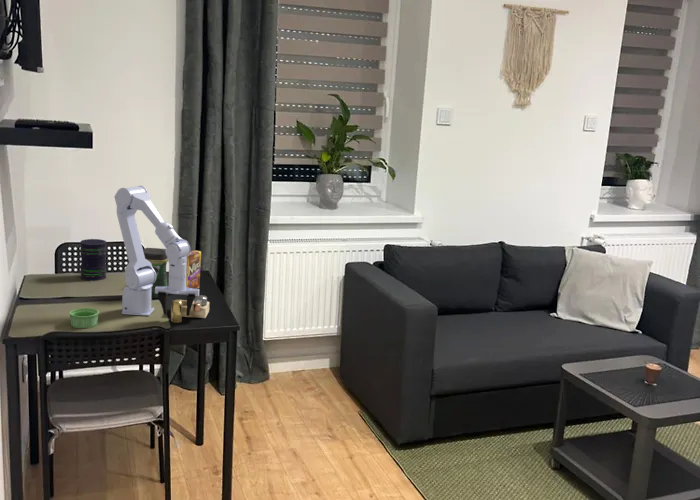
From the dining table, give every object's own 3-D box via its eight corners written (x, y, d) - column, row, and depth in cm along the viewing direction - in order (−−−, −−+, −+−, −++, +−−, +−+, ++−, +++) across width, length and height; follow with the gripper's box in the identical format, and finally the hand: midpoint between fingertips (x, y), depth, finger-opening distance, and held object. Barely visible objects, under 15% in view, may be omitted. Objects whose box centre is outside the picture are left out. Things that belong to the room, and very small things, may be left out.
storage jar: (76, 279, 272) (75, 243, 268) (86, 273, 281) (86, 238, 278) (100, 281, 271) (100, 245, 268) (110, 275, 281) (110, 240, 278)
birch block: (170, 315, 238) (171, 306, 238) (175, 308, 246) (175, 299, 245) (205, 318, 239) (205, 308, 238) (209, 311, 247) (209, 301, 246)
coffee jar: (169, 293, 263) (170, 246, 259) (164, 299, 256) (165, 251, 252) (144, 292, 263) (144, 245, 259) (138, 298, 255) (139, 249, 251)
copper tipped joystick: (189, 311, 233) (189, 303, 233) (195, 302, 244) (195, 294, 243) (202, 312, 234) (202, 304, 233) (207, 302, 244) (208, 295, 244)
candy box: (186, 293, 266) (187, 255, 262) (177, 291, 267) (178, 253, 264) (200, 288, 274) (201, 251, 270) (191, 286, 275) (192, 249, 272)
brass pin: (170, 322, 232) (170, 302, 230) (172, 319, 235) (172, 299, 234) (180, 322, 232) (180, 303, 231) (182, 319, 235) (182, 300, 234)
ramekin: (96, 319, 229) (96, 306, 228) (101, 328, 222) (100, 315, 221) (68, 321, 225) (67, 308, 224) (71, 330, 217) (71, 317, 217)
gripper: (152, 277, 226) (152, 316, 229) (197, 280, 227) (195, 319, 230) (158, 272, 233) (157, 310, 236) (200, 275, 234) (199, 312, 236)
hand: (176, 314), depth 233 cm, fingers open, 7 cm apart
